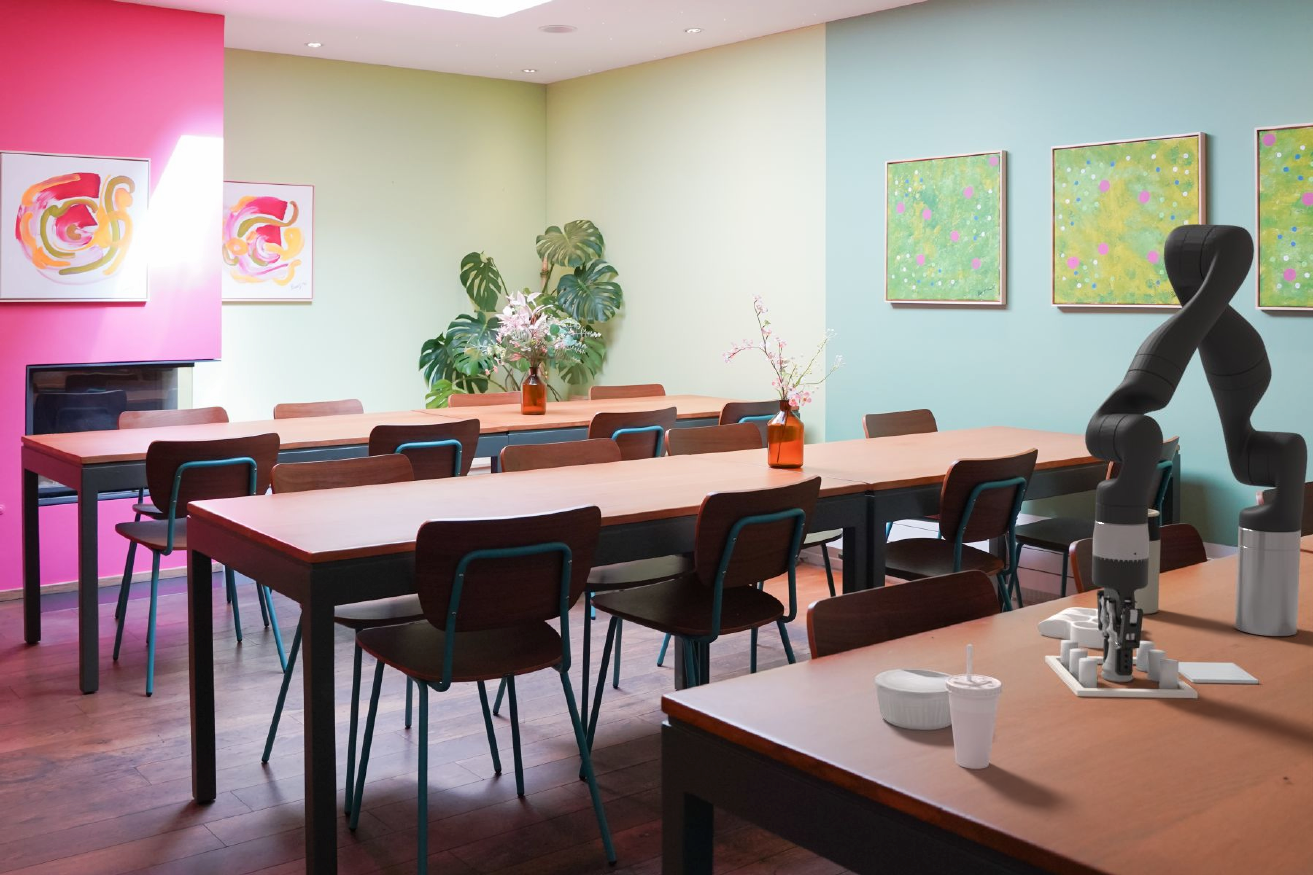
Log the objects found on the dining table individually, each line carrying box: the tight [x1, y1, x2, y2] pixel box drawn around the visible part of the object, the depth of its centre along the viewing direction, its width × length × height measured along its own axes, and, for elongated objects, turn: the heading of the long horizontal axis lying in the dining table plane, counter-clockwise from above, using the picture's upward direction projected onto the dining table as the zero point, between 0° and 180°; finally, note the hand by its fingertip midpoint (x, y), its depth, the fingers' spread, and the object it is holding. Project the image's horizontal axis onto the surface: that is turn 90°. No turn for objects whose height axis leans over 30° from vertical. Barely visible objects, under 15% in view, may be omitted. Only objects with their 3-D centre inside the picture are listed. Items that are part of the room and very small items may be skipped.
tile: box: [1178, 661, 1259, 685], centre depth 175 cm, size 9×9×1 cm
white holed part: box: [1037, 606, 1146, 649], centre depth 198 cm, size 3×18×15 cm
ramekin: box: [874, 668, 953, 731], centre depth 155 cm, size 11×11×5 cm
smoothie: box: [945, 643, 1003, 770], centre depth 139 cm, size 6×6×14 cm
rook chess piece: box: [1100, 623, 1135, 683], centre depth 173 cm, size 4×4×8 cm
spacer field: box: [1044, 639, 1199, 699], centre depth 173 cm, size 18×16×4 cm
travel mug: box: [1134, 508, 1162, 616], centre depth 215 cm, size 8×8×18 cm
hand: (1117, 668), depth 173 cm, fingers open, 5 cm apart
